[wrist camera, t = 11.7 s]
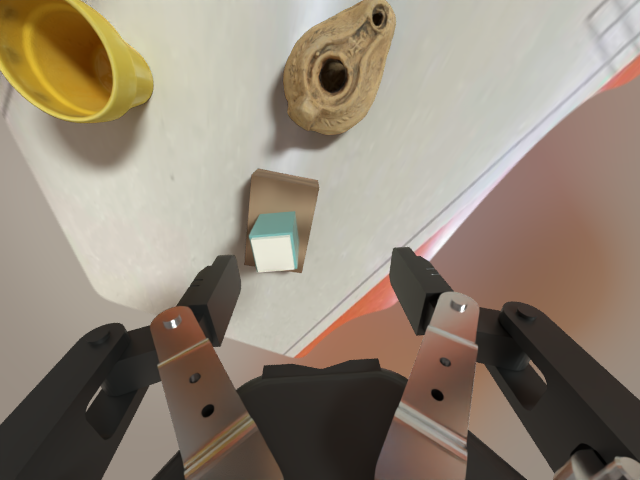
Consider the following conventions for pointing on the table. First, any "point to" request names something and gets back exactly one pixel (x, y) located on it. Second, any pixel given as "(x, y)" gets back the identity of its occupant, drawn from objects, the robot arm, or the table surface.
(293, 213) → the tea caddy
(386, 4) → the oil lamp
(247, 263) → the brown rectangular block
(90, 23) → the plant pot
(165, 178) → the table surface
